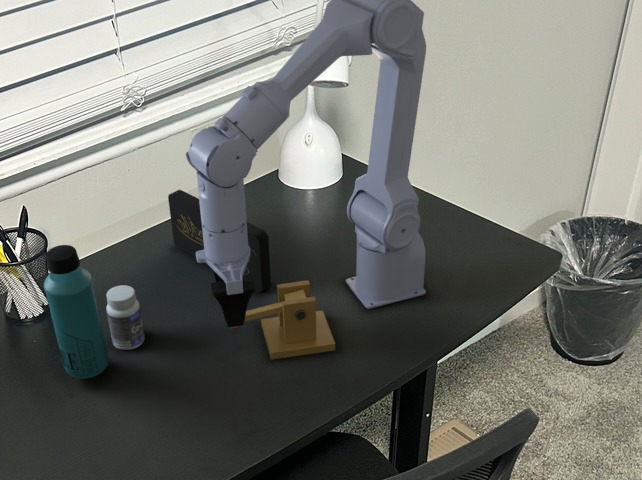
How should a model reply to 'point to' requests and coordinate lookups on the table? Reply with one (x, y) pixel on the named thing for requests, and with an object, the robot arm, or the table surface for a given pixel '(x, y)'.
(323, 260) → the table surface
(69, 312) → the beverage bottle
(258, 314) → the handle
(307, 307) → the wooden lever stand
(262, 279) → the nameplate
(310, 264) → the table surface
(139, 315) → the pill bottle
